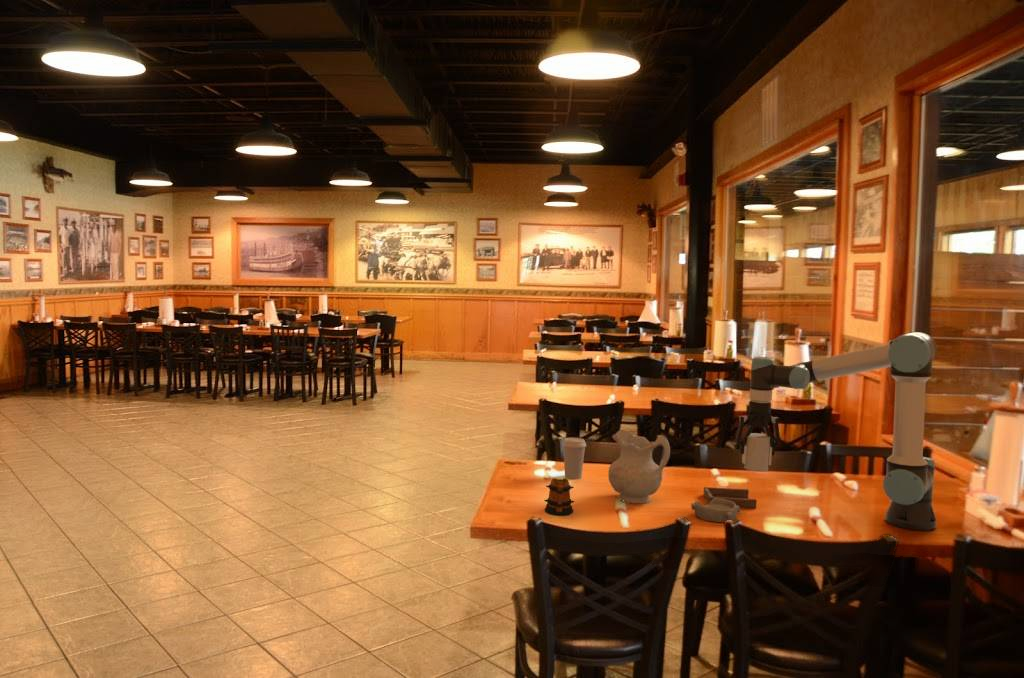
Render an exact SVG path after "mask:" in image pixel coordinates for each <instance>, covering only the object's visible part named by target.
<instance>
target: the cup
mask: <svg viewBox="0 0 1024 678" xmlns="http://www.w3.org/2000/svg"><path fill="white" fill-rule="evenodd" d="M745 445H746V446H747V452H746V464H743V468H744V469H745V470H747V471H752V472H763V473H764V472H767V471H768V470H769V465H768V462H769V446H770V437H768V436H767V435H766V433H765V434H764V433H758V432H754V433H753V432H751V434H750V436H748V439H747V441H746V443H745Z"/></svg>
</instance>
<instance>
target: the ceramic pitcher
mask: <svg viewBox="0 0 1024 678" xmlns="http://www.w3.org/2000/svg"><path fill="white" fill-rule="evenodd" d="M612 439H613V440H614V441H615V442H616V443H617V444H618V446H619V449H620V453H619V454H620V455H619V457H618V458H617V459H616V460H615V461H613V462H612V463H611V464H610V465H609V467H608V480H609V481H608V482H609V483H610V485H611V487H612V488H613V490H614V491H615V492H617V493H619V495H618V499H619V500H620V499H622V500H624V501H625V503H627V504H631V505H632V504H649V503H650V502H651V501H652V499H651V498H650V496H652V495H654V494H655V493H656V492H657V491H658V489H659V488H660V486H661V485H662V481H663V470H664V468H665V467H666V466H667V464H668V462H669V460H670V456H671V446H670V443H669V440H668V437H667V436H666V435H664V434H658V435H656V439H655V441H649V440H648V439H647V438H646V437H645V436H637V435H636V436H635V435H633V433H632V432H631V431H627V430H626V429H620V430H617V432H616V433H614V434H612ZM659 446H662V447H663V450H664V452H663V453H664V454H663V456H662V458H661V460H660V462H659V465H658V464H657V463H656V462H655V461H654V459H653V451H654V449H656V448H657V447H659ZM624 501H623V502H624Z"/></svg>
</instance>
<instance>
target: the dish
mask: <svg viewBox="0 0 1024 678" xmlns="http://www.w3.org/2000/svg"><path fill="white" fill-rule="evenodd" d="M690 508H691V510H693V511H694V514H695V516H696V517H697V518H699V519H701V520H703V521H707V522H714V523H726V522H725V521H727V520H734V521H735V520H737V518H738V513H740V512H741V511H740V509H741V508H740V507H739V506H736V504H735V503H734V502H732V501H730V500H725V499H718V498H713V499H712V501H711V502H710V503H709V504H706V505H705V504H704V505H703V504H702V503H701V502H700V501H699V500H695V501H694V502H692V503H691V504H690Z"/></svg>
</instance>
